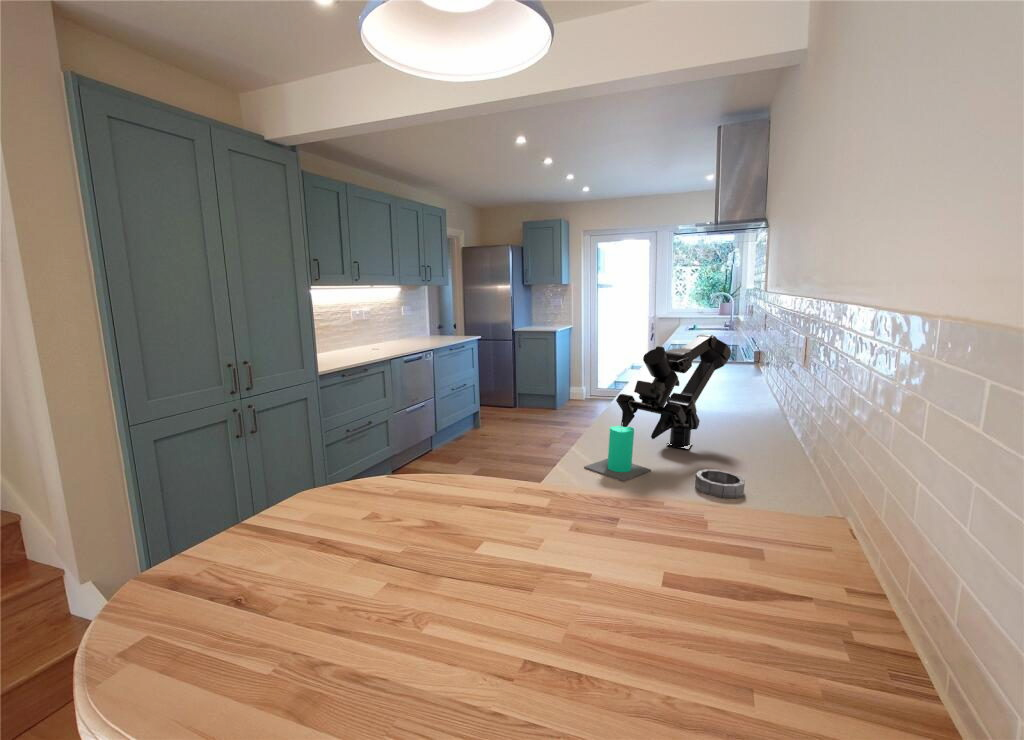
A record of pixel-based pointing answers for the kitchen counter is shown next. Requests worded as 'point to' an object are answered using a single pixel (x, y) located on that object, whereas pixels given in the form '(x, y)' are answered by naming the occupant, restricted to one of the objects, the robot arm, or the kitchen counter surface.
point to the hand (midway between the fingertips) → (636, 434)
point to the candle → (620, 448)
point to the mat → (603, 469)
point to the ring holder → (720, 484)
